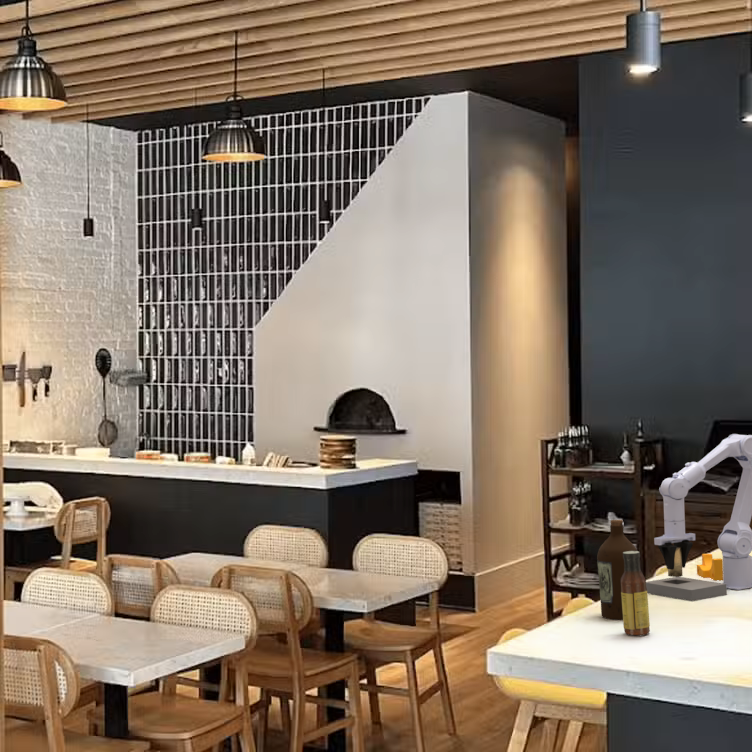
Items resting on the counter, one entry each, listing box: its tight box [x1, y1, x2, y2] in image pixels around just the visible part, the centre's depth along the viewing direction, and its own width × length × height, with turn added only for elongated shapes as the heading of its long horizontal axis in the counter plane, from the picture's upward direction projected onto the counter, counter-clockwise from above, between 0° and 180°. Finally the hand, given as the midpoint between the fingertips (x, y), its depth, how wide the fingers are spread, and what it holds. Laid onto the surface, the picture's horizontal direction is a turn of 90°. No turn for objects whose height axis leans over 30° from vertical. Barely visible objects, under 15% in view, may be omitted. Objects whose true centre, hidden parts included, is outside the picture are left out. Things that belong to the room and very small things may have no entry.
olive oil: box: [596, 519, 638, 621], centre depth 324 cm, size 11×11×25 cm
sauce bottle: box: [621, 550, 651, 637], centre depth 302 cm, size 7×6×20 cm
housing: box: [646, 576, 728, 602], centre depth 353 cm, size 14×18×3 cm
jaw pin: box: [667, 547, 684, 578], centre depth 355 cm, size 4×4×8 cm
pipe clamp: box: [696, 553, 723, 582], centre depth 378 cm, size 12×4×6 cm, turn 2°
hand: (675, 568), depth 355 cm, fingers closed on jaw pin, 4 cm apart
